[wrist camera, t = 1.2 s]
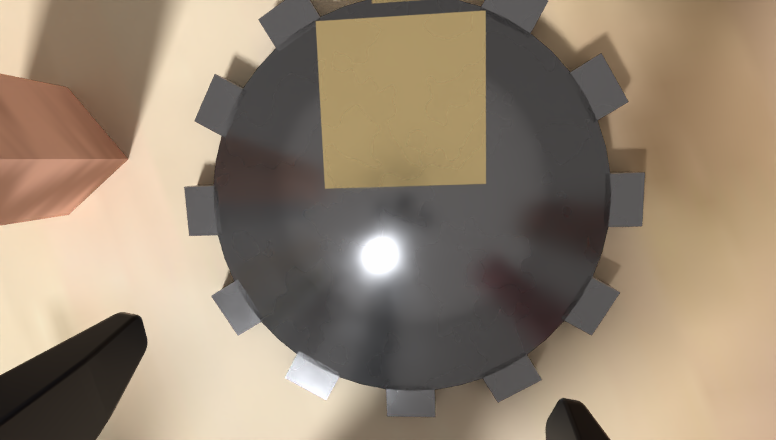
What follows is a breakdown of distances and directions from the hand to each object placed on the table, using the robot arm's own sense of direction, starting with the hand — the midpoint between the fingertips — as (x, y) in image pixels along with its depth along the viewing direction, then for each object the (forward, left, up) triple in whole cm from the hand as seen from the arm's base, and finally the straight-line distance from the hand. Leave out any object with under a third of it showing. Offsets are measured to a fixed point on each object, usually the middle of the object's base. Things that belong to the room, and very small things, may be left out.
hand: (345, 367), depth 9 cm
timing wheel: (+2, +1, -14) cm, 14 cm away
